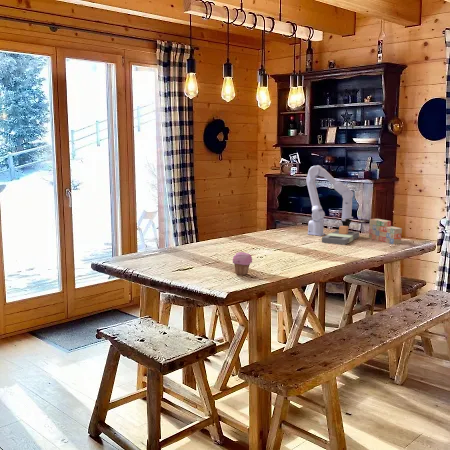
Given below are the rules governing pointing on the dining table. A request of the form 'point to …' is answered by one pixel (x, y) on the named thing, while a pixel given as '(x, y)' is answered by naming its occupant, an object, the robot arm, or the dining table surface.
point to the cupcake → (242, 263)
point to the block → (343, 229)
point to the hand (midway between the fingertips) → (345, 230)
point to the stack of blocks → (384, 231)
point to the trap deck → (340, 237)
